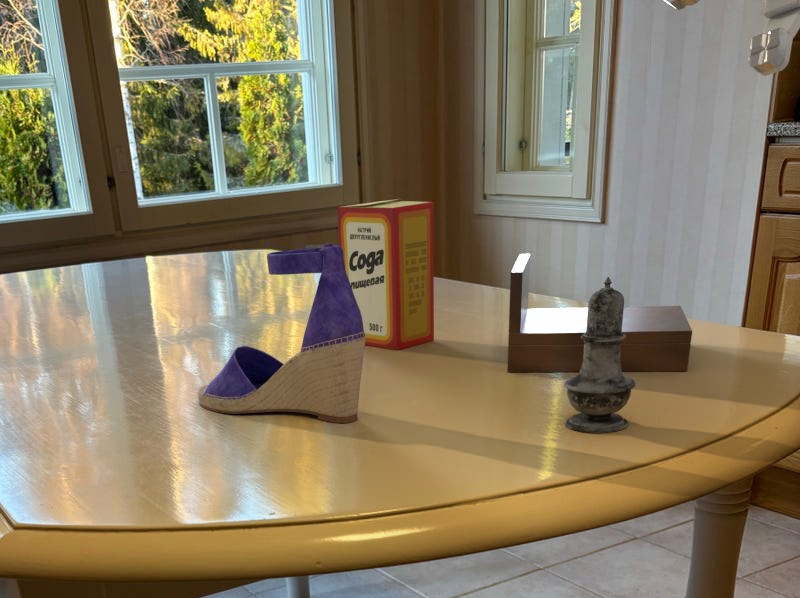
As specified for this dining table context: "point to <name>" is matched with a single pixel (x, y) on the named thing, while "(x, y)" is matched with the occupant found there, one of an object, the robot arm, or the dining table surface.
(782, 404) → the dining table surface
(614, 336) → the salt shaker
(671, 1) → the robot arm
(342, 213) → the baking soda box
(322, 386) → the sandal
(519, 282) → the wooden bookend
